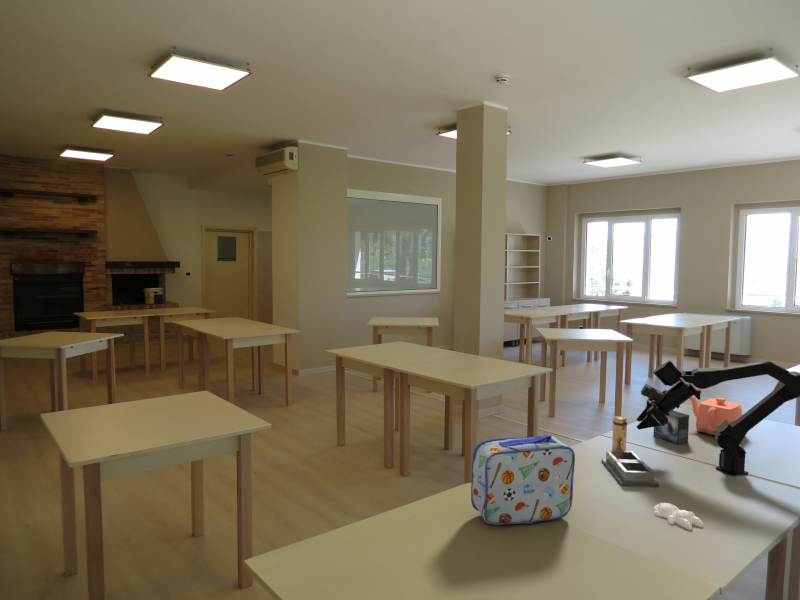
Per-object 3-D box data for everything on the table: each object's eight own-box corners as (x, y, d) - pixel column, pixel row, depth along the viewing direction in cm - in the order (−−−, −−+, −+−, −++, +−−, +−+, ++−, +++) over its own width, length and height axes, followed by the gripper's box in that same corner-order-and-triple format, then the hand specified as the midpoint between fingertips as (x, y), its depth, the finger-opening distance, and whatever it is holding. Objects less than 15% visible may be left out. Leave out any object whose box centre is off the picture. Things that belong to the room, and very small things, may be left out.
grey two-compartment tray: (601, 461, 175) (602, 449, 174) (635, 462, 174) (635, 450, 173) (621, 485, 156) (621, 472, 155) (659, 487, 155) (659, 474, 155)
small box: (652, 436, 200) (653, 409, 199) (663, 433, 203) (665, 407, 202) (676, 445, 190) (678, 417, 189) (688, 442, 193) (690, 414, 192)
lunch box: (558, 501, 145) (560, 424, 144) (580, 519, 136) (583, 437, 134) (467, 513, 138) (468, 433, 136) (483, 533, 128) (485, 446, 126)
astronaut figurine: (681, 533, 130) (682, 521, 129) (646, 510, 141) (646, 500, 141) (709, 527, 132) (709, 516, 132) (672, 506, 144) (672, 495, 143)
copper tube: (628, 456, 179) (630, 419, 178) (617, 457, 178) (619, 420, 177) (619, 451, 183) (621, 415, 182) (608, 453, 182) (610, 416, 181)
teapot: (694, 420, 220) (696, 388, 219) (747, 431, 205) (749, 397, 204) (673, 429, 208) (675, 395, 206) (728, 443, 193) (730, 406, 192)
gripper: (656, 372, 182) (620, 399, 188) (658, 383, 165) (619, 413, 171) (680, 396, 180) (643, 423, 185) (685, 411, 163) (644, 440, 168)
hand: (637, 424), depth 177 cm, fingers open, 9 cm apart
